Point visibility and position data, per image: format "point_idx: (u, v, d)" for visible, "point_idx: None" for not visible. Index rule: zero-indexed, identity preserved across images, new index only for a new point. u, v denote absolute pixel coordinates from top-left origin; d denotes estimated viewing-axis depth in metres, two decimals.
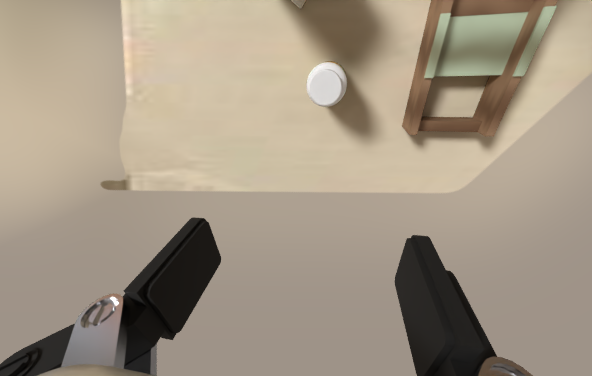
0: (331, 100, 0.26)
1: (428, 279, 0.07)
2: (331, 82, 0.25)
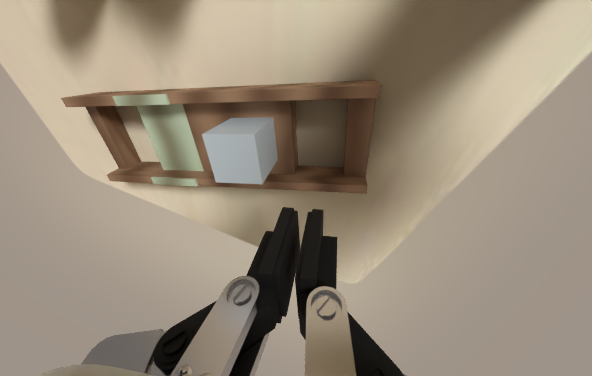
0: None
1: (305, 239, 0.09)
2: None
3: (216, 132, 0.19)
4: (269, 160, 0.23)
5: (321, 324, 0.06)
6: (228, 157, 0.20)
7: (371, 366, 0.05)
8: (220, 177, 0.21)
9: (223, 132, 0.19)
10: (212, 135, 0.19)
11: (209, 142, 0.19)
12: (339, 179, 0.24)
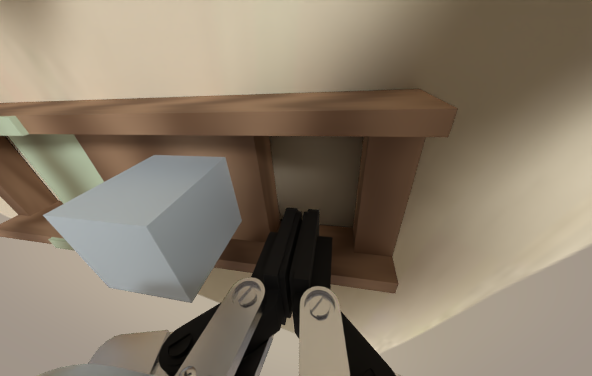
0: None
1: (300, 239, 0.09)
2: None
3: (79, 209, 0.09)
4: (217, 239, 0.12)
5: (314, 324, 0.06)
6: (112, 256, 0.09)
7: (363, 366, 0.05)
8: (113, 282, 0.11)
9: (92, 210, 0.09)
10: (63, 219, 0.08)
11: (65, 230, 0.09)
12: (347, 262, 0.14)
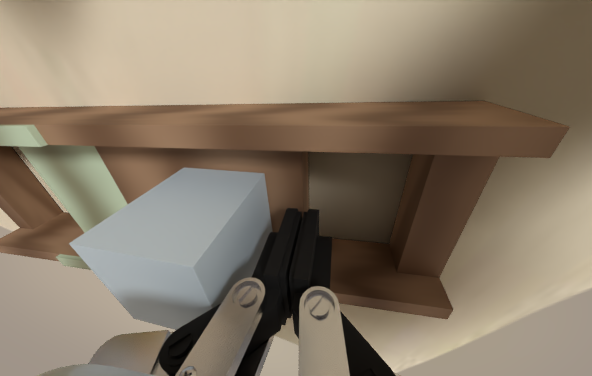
0: None
1: (300, 239, 0.09)
2: None
3: (109, 236, 0.07)
4: (253, 265, 0.11)
5: (314, 324, 0.06)
6: (143, 291, 0.08)
7: (363, 366, 0.05)
8: (139, 314, 0.09)
9: (125, 239, 0.07)
10: (93, 250, 0.07)
11: (92, 260, 0.08)
12: (391, 284, 0.13)
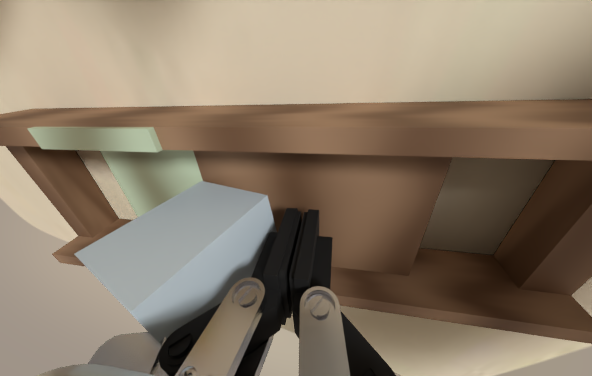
0: None
1: (300, 239, 0.09)
2: None
3: (101, 253, 0.08)
4: None
5: (314, 324, 0.06)
6: None
7: (363, 366, 0.05)
8: None
9: (108, 259, 0.08)
10: (84, 264, 0.08)
11: None
12: (520, 303, 0.12)
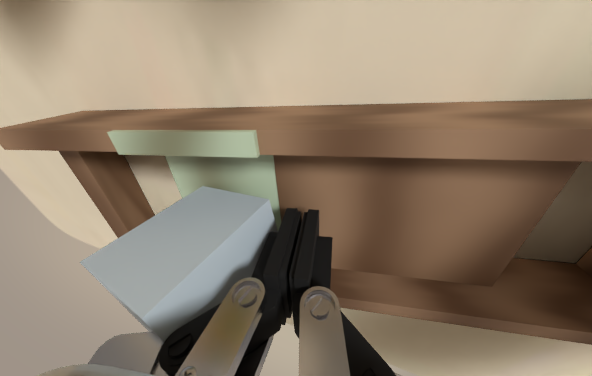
0: None
1: (300, 239, 0.09)
2: None
3: (107, 260, 0.08)
4: None
5: (315, 324, 0.06)
6: (134, 315, 0.08)
7: (363, 366, 0.05)
8: (146, 328, 0.10)
9: (114, 266, 0.08)
10: (91, 272, 0.08)
11: (97, 279, 0.08)
12: None
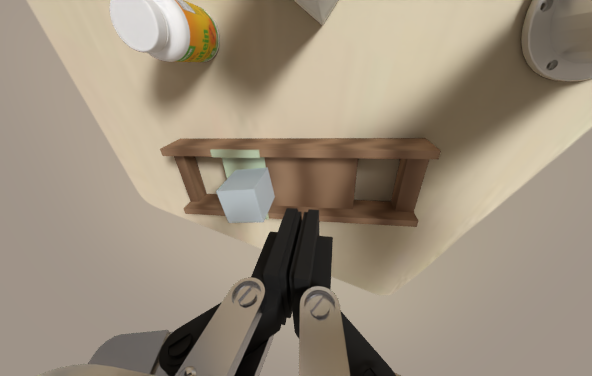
0: (123, 36, 0.17)
1: (300, 239, 0.09)
2: (144, 33, 0.17)
3: (226, 188, 0.26)
4: (268, 201, 0.29)
5: (314, 324, 0.06)
6: (236, 205, 0.26)
7: (363, 366, 0.05)
8: (231, 219, 0.28)
9: (231, 188, 0.26)
10: (223, 191, 0.26)
11: (222, 196, 0.26)
12: (393, 214, 0.30)
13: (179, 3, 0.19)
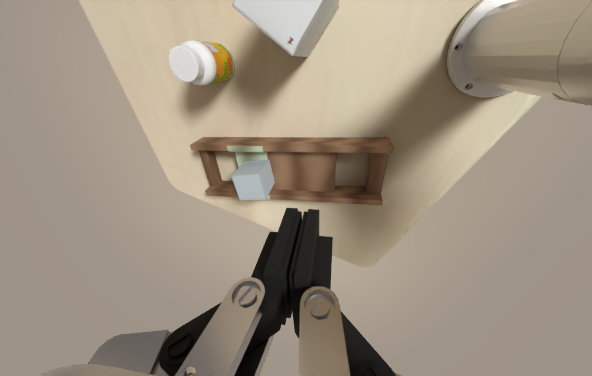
0: (175, 72, 0.27)
1: (300, 239, 0.09)
2: (189, 71, 0.27)
3: (238, 174, 0.36)
4: (269, 184, 0.39)
5: (315, 324, 0.06)
6: (245, 186, 0.36)
7: (363, 366, 0.05)
8: (242, 197, 0.38)
9: (242, 173, 0.36)
10: (236, 176, 0.35)
11: (235, 179, 0.36)
12: (364, 196, 0.39)
13: (209, 48, 0.28)
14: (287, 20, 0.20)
